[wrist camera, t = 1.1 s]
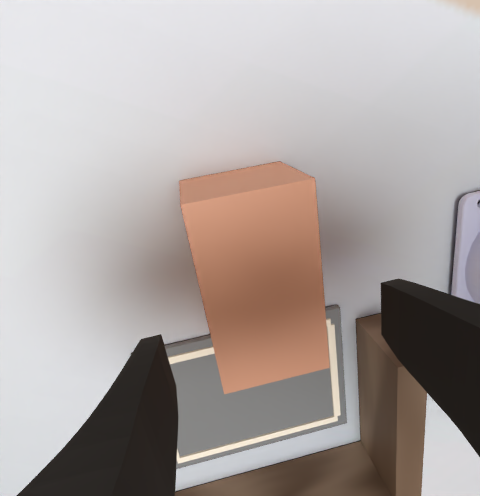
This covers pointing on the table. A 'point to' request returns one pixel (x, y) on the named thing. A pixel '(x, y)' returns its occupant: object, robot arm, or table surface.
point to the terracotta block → (259, 271)
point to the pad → (251, 401)
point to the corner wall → (359, 453)
